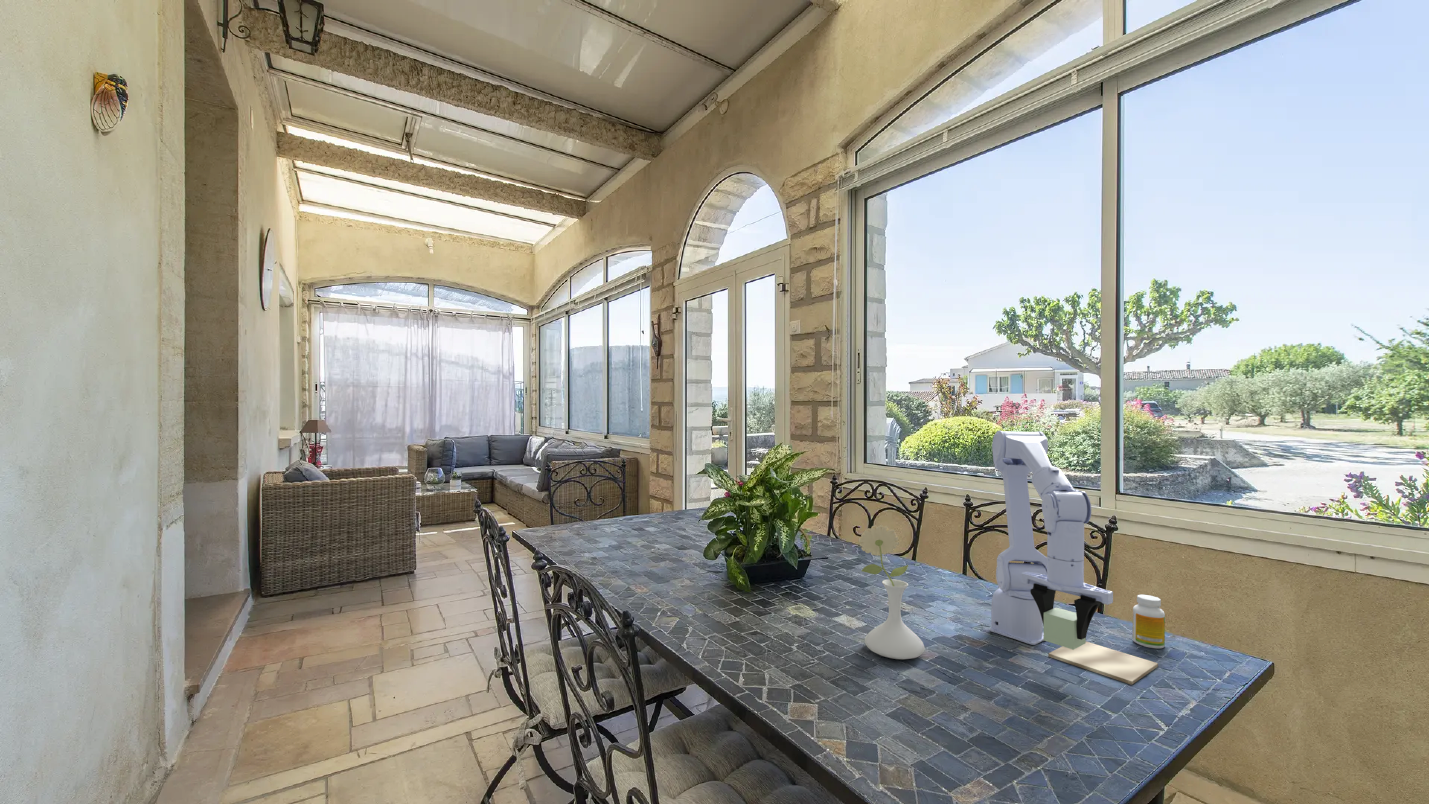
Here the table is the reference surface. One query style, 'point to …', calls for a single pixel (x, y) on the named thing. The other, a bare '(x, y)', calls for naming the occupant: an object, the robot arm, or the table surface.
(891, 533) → the flower in vase
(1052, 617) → the sage cube
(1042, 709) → the table surface
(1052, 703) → the table surface
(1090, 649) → the wooden board
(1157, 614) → the supplement bottle
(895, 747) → the table surface
